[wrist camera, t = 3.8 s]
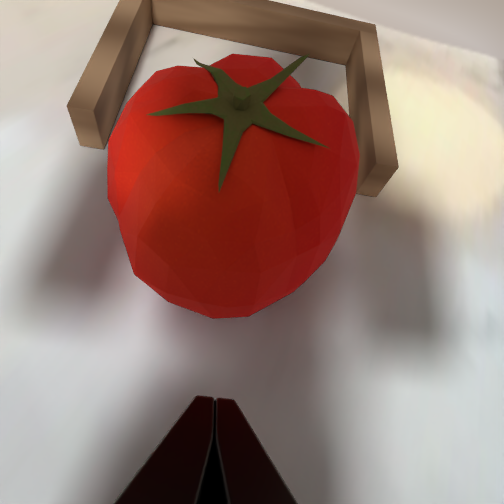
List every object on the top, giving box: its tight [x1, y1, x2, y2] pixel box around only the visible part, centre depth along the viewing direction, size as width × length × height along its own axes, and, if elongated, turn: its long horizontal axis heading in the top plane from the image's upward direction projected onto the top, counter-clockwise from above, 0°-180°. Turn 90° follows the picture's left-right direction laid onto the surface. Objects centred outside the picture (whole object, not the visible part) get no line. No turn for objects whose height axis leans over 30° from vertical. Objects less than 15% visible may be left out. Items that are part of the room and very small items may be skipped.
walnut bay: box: [67, 0, 399, 197], centre depth 22 cm, size 13×16×2 cm
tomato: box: [107, 54, 360, 319], centre depth 14 cm, size 9×10×8 cm
